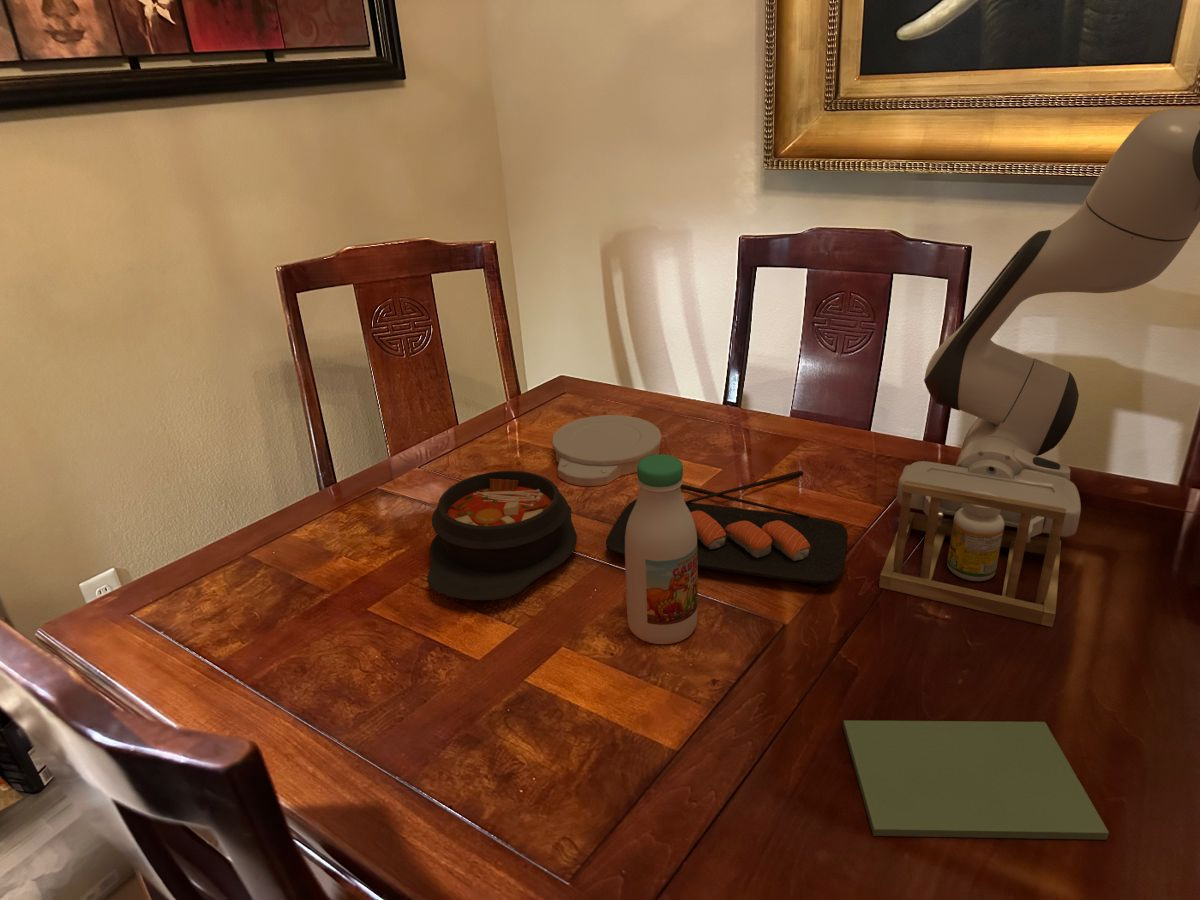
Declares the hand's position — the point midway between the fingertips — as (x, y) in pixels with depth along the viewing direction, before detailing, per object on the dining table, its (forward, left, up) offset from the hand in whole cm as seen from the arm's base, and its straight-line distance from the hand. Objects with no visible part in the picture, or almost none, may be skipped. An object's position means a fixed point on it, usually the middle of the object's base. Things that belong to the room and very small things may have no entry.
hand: (978, 528), depth 97 cm
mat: (-16, +29, -6) cm, 34 cm away
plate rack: (0, 0, -6) cm, 6 cm away
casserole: (+41, +39, -6) cm, 57 cm away
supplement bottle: (0, 0, -6) cm, 6 cm away
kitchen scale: (+54, +12, -6) cm, 56 cm away
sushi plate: (+27, +11, -6) cm, 30 cm away
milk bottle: (+17, +34, -6) cm, 38 cm away
